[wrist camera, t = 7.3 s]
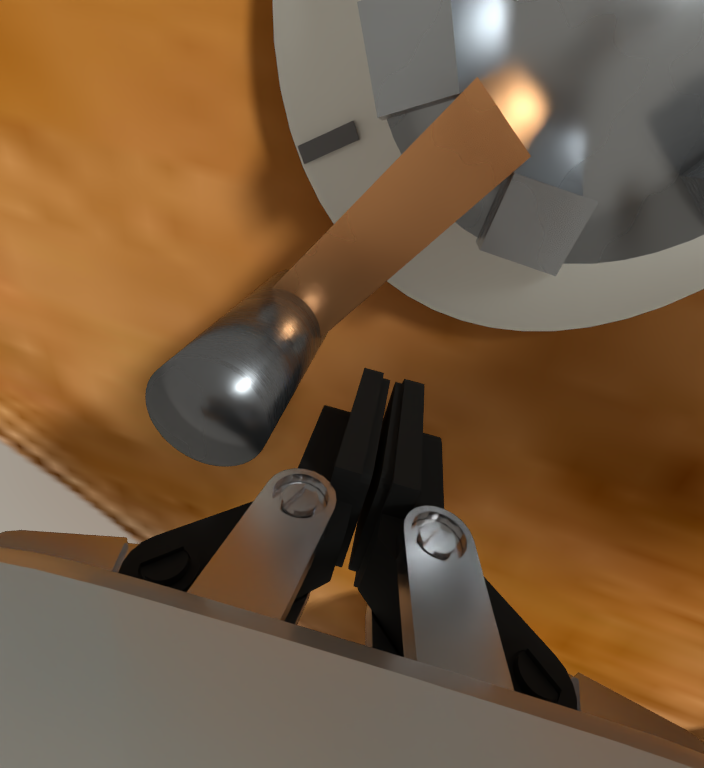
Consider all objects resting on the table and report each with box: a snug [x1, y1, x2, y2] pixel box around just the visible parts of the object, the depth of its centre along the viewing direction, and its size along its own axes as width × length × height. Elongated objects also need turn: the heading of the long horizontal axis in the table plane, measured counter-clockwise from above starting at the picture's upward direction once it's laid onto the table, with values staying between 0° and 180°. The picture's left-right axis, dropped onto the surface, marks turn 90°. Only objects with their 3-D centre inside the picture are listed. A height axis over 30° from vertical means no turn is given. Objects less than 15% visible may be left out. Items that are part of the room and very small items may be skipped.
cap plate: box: [273, 0, 704, 331], centre depth 10 cm, size 16×16×2 cm
